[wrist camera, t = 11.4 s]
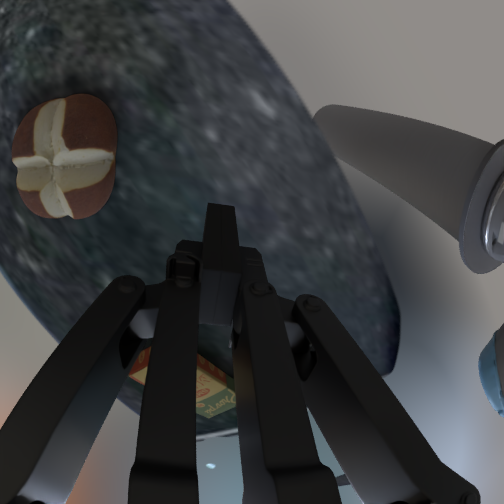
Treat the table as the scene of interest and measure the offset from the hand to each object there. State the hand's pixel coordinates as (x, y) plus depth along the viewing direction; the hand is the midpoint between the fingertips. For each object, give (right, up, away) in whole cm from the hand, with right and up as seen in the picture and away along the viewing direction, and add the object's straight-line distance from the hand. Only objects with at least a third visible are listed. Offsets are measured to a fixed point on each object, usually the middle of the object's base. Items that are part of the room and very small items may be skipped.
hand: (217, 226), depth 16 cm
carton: (-7, -18, +21) cm, 29 cm away
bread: (-15, +8, +5) cm, 17 cm away
